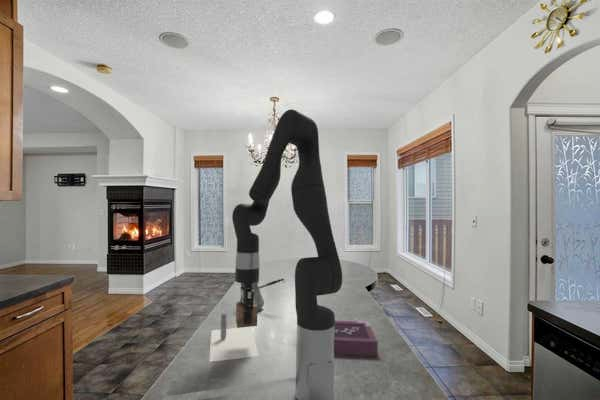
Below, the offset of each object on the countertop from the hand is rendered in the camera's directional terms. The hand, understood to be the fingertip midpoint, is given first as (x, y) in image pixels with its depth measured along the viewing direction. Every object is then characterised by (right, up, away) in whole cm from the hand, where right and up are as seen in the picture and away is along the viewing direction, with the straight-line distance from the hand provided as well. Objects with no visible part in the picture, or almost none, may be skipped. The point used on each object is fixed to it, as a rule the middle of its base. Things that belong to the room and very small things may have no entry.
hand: (246, 319), depth 89 cm
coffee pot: (0, -12, +37) cm, 39 cm away
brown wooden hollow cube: (0, -1, 0) cm, 1 cm away
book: (+29, -12, +7) cm, 32 cm away
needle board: (-5, -10, +3) cm, 12 cm away
